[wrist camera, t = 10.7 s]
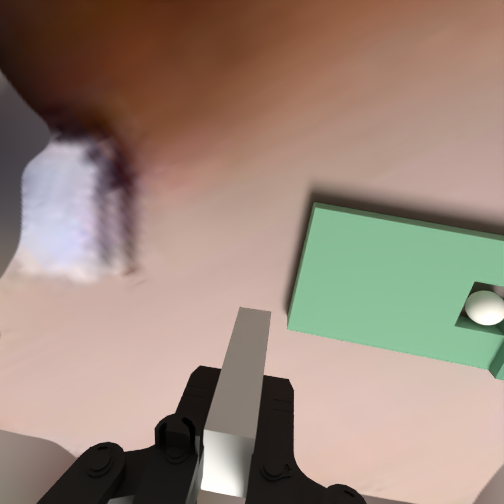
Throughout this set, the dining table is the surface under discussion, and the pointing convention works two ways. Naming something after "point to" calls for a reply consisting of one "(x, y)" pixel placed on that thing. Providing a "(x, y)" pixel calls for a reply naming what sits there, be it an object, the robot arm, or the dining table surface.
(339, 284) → the putting mat
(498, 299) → the ball
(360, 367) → the dining table surface
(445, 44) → the dining table surface
